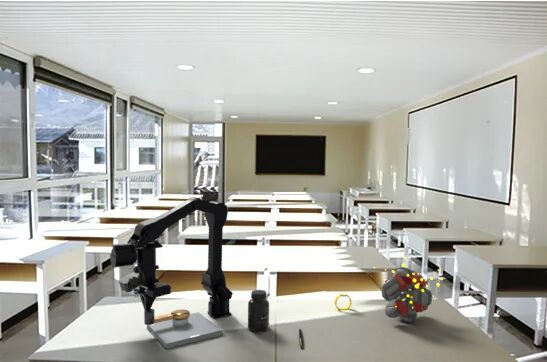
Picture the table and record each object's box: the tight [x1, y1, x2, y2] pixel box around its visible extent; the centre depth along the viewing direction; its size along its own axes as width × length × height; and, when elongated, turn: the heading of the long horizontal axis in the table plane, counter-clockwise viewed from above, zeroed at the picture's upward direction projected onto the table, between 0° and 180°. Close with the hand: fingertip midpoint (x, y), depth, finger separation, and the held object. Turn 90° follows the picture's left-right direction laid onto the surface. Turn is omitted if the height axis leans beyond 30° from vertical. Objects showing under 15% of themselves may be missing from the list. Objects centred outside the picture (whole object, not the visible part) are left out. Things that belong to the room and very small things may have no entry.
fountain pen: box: [298, 328, 304, 349], centre depth 129 cm, size 14×1×2 cm, turn 179°
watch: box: [334, 292, 353, 311], centre depth 154 cm, size 6×3×6 cm, turn 96°
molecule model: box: [373, 256, 444, 323], centre depth 143 cm, size 25×21×23 cm
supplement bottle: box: [247, 289, 270, 333], centre depth 136 cm, size 7×7×12 cm
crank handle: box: [143, 308, 191, 326], centre depth 134 cm, size 14×6×4 cm, turn 124°
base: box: [146, 312, 223, 349], centre depth 134 cm, size 18×18×4 cm
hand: (147, 311), depth 133 cm, fingers closed
